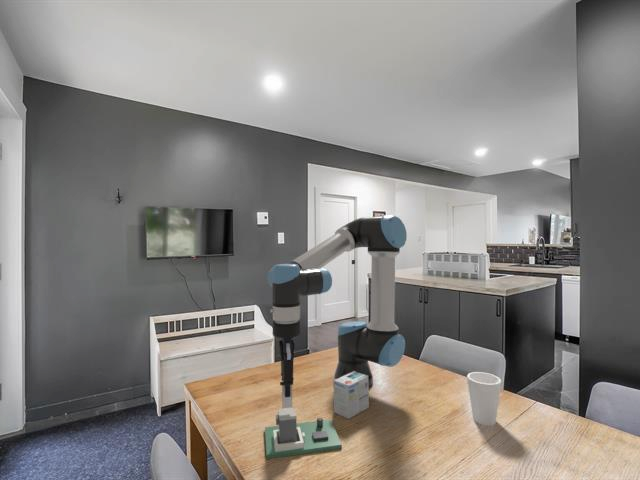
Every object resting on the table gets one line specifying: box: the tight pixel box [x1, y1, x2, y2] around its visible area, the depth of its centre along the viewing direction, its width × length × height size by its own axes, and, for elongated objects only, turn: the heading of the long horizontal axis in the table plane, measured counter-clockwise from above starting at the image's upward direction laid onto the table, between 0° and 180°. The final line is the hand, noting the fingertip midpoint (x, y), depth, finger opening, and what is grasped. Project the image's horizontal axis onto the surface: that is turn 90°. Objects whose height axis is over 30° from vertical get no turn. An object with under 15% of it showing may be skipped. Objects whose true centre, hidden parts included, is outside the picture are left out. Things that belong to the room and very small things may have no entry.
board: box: [264, 417, 342, 460], centre depth 95 cm, size 20×13×3 cm, turn 101°
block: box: [275, 407, 297, 444], centre depth 92 cm, size 5×4×8 cm
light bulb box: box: [333, 371, 370, 420], centre depth 111 cm, size 11×7×11 cm, turn 134°
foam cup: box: [466, 371, 502, 427], centre depth 104 cm, size 10×9×13 cm
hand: (287, 406), depth 92 cm, fingers closed
